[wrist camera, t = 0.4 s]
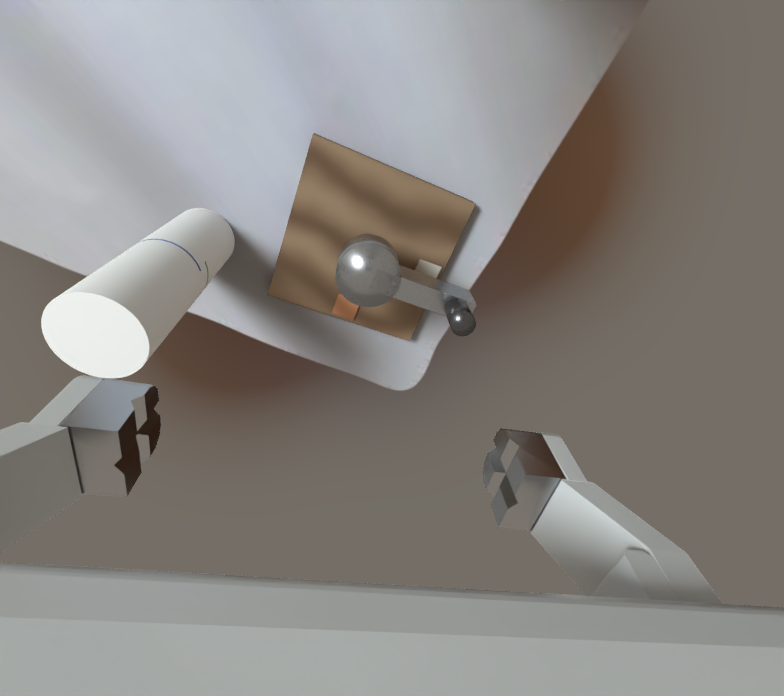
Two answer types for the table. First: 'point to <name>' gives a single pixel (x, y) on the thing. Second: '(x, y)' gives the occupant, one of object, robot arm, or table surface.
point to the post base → (363, 232)
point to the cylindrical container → (137, 296)
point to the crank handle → (398, 283)
